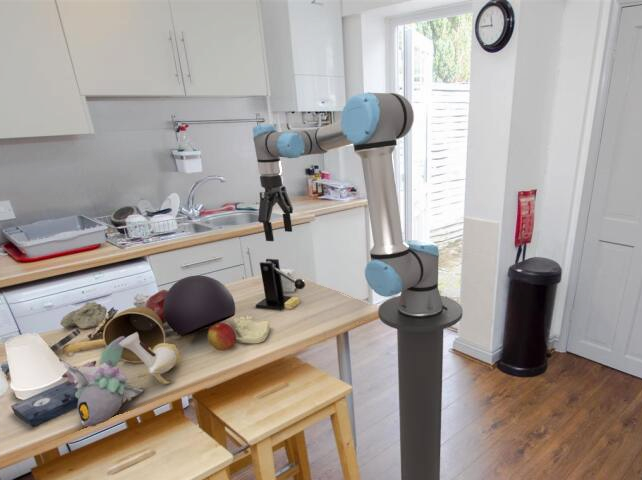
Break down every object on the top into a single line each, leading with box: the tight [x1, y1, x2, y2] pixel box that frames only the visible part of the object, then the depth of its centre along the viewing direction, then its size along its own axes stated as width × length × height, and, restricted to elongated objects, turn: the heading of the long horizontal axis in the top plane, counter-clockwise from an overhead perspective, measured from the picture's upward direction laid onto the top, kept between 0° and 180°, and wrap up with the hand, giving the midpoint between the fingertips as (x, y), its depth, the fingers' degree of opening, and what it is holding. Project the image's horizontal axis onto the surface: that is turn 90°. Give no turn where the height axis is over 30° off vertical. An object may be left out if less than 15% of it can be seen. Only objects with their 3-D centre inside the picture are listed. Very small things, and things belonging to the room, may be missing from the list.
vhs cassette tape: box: [10, 382, 78, 428], centre depth 110 cm, size 18×3×10 cm
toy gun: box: [119, 332, 181, 385], centre depth 119 cm, size 10×21×15 cm, turn 13°
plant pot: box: [102, 306, 166, 364], centre depth 131 cm, size 15×15×16 cm
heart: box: [145, 289, 169, 324], centre depth 150 cm, size 12×8×10 cm
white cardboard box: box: [280, 268, 297, 293], centre depth 174 cm, size 6×6×7 cm
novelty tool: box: [62, 322, 176, 358], centre depth 138 cm, size 8×3×30 cm
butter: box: [284, 296, 301, 310], centre depth 161 cm, size 3×6×2 cm, turn 164°
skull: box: [132, 293, 152, 307], centre depth 158 cm, size 7×15×6 cm, turn 85°
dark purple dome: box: [163, 275, 236, 337], centre depth 137 cm, size 20×20×16 cm
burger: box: [86, 306, 119, 341], centre depth 141 cm, size 12×12×8 cm
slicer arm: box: [265, 261, 306, 290], centre depth 156 cm, size 15×4×4 cm, turn 76°
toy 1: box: [48, 328, 82, 353], centre depth 130 cm, size 14×2×10 cm
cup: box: [4, 332, 68, 401], centre depth 113 cm, size 12×12×14 cm
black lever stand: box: [255, 258, 293, 311], centre depth 159 cm, size 10×10×16 cm
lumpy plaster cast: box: [233, 315, 271, 344], centre depth 139 cm, size 11×11×6 cm
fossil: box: [59, 301, 108, 330], centre depth 152 cm, size 14×10×10 cm
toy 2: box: [59, 336, 145, 428], centre depth 105 cm, size 14×16×15 cm
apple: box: [207, 322, 237, 351], centre depth 133 cm, size 8×8×8 cm
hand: (279, 236), depth 166 cm, fingers open, 13 cm apart
